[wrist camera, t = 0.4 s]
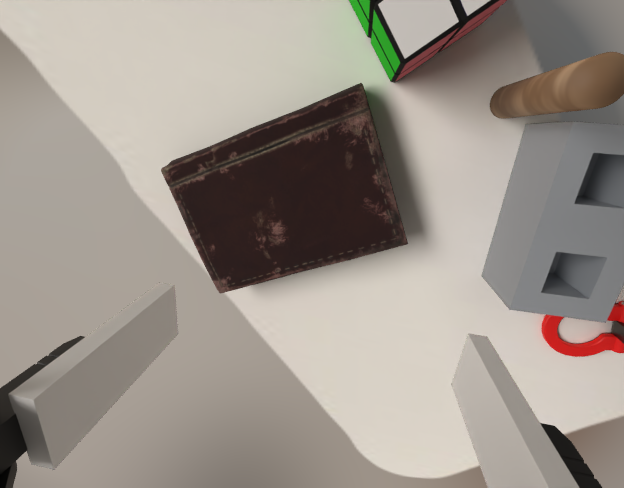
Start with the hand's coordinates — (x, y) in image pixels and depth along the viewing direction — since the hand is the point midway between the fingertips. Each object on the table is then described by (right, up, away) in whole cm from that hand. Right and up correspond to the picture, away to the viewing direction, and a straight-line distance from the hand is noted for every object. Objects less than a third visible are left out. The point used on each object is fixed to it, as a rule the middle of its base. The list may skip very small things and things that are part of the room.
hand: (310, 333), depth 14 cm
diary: (-3, +10, +26) cm, 28 cm away
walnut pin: (+20, +19, +19) cm, 34 cm away
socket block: (+27, +8, +22) cm, 35 cm away
